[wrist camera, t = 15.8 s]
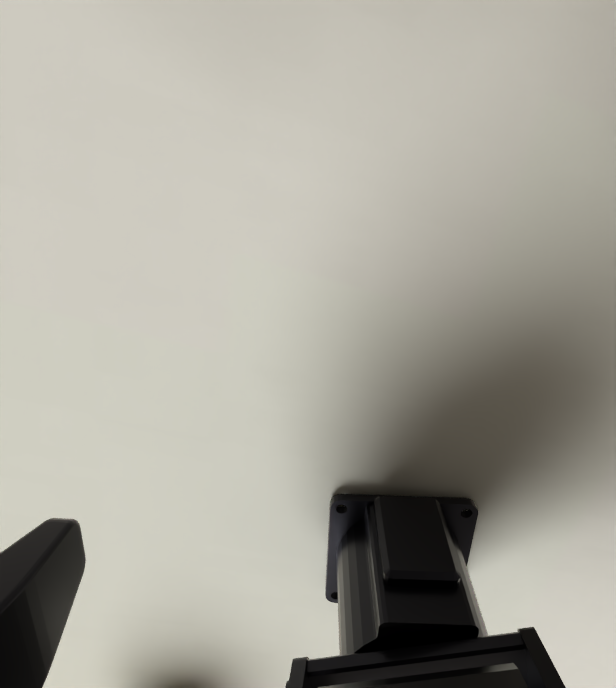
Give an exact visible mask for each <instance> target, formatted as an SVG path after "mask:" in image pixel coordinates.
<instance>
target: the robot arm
mask: <svg viewBox="0 0 616 688" xmlns="http://www.w3.org/2000/svg"><path fill="white" fill-rule="evenodd" d="M338 505H345V506H344V507H338ZM464 509H469V510H467V511H463V510H464ZM477 516H478V510H477V507H476V504H475V503H474V501H473V500H471V499H467V498H445V497H415V496H385V495H355V494H338V495H335V496H334V497H333V498H332V499H331V501H330V513H329V532H328V551H327V570H326V598H327V600H328V601H330V602H334V603H338V615H339V645H340V656H332V657H325V658H317V659H310V660H309V658H308V657H304V658H296V659H293V662H292V667H291V673H290V678H289V681H287V683H286V688H565V686H564V684H563V682H562V680H561V678H560V676H559V674H558V672H557V670H556V668H555V667H554V665H553V663H552V661H551V659H550V657H549V655H548V653H547V651H546V649H545V648H544V646H543V644H542V642H541V640H540V638H539V636H538V634H537V632H536V630H535V628H534V627H529V628H522V629H518V632H514V633H506V634H499V635H491V636H488V633H487V630H486V627H485V624H484V621H483V617H482V614H481V611H480V608H479V605H478V602H477V599H476V595H475V592H474V589H473V586H472V583H471V580H470V576H469V573H468V570H467V562H468V558H469V553H470V549H471V544H472V539H473V535H474V530H475V525H476V521H477ZM84 568H85V551H84V546H83V540H82V534H81V529H80V525H79V523H78V521H76V520H74V519H62V518H51V519H49V520H46V521H45V522H43V523H42V524H41V525H39V526H38V527H36V528H35V529H33V530H32V531H31V532H29V533H28V534H26V535H25V536H24V537H22V538H21V539H19V540H18V541H17V542H15V543H14V544H12V545H11V546H10V547H8V548H7V549H5V550H4V551H3V552H1V553H0V688H42V687H43V685H44V682H45V680H46V678H47V675H48V673H49V670H50V667H51V664H52V662H53V659H54V656H55V653H56V651H57V648H58V645H59V642H60V639H61V636H62V633H63V630H64V628H65V625H66V622H67V619H68V616H69V613H70V610H71V607H72V605H73V602H74V599H75V596H76V593H77V590H78V587H79V584H80V582H81V579H82V576H83V573H84Z"/></svg>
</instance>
